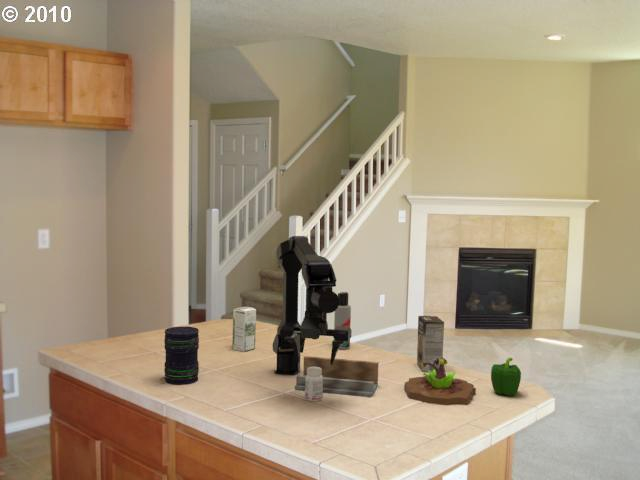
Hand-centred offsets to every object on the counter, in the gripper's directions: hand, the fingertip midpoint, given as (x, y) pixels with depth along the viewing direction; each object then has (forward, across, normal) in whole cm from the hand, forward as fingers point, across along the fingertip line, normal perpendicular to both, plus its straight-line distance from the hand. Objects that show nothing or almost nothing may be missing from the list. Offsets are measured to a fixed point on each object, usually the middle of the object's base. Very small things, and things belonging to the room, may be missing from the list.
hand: (315, 363), depth 185 cm
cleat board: (+10, +4, +10) cm, 15 cm away
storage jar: (+10, -41, +5) cm, 43 cm away
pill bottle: (+10, 0, 0) cm, 10 cm away
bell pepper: (+10, +51, +20) cm, 56 cm away
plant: (+10, +33, +15) cm, 37 cm away
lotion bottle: (+10, -4, +58) cm, 59 cm away
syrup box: (+10, -36, +45) cm, 58 cm away
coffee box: (+10, +28, +41) cm, 51 cm away
